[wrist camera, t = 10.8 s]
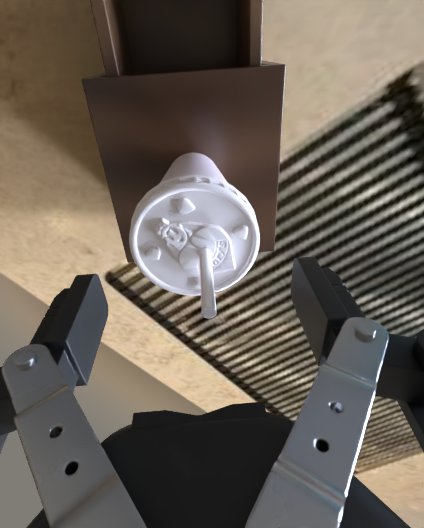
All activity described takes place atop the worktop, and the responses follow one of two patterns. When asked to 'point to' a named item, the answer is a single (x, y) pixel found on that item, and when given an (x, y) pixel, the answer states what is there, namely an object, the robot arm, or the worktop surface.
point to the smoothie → (194, 231)
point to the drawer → (177, 35)
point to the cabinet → (191, 133)
